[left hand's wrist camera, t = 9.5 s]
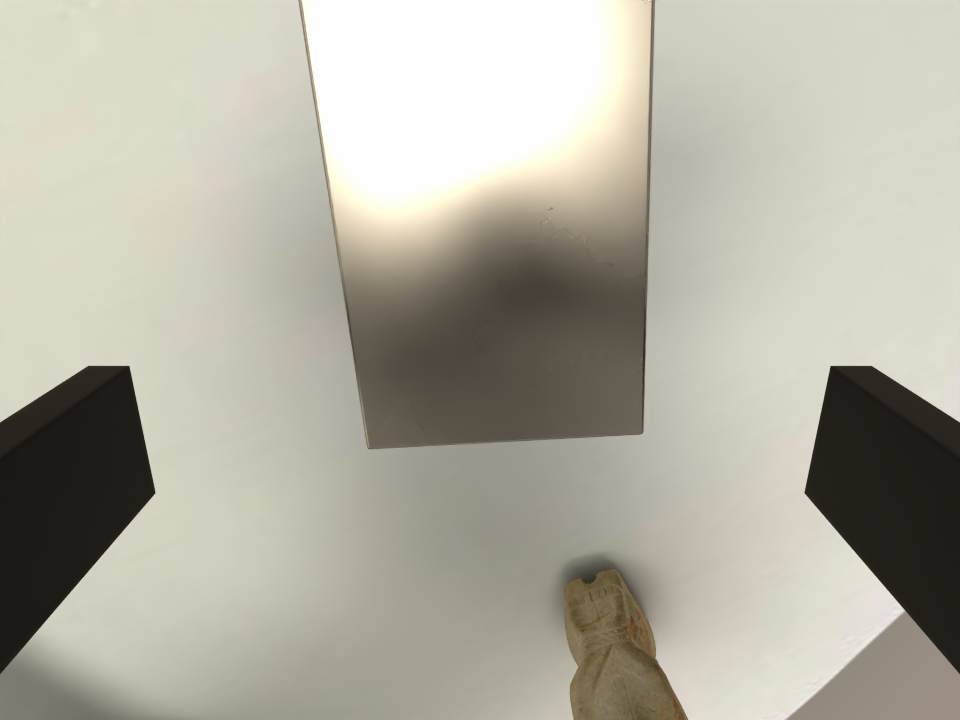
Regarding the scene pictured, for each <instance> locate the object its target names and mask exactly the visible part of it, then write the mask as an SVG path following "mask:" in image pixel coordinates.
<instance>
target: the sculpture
mask: <svg viewBox="0 0 960 720" xmlns="http://www.w3.org/2000/svg"><path fill="white" fill-rule="evenodd" d="M564 591H565V597H566V609H565V626H566V634H567V640H568V644H569V648H570V651H571V653H572V655H573V658H574V660H575V662H576V663H577V665H578V666H579V667H578V669H577V671H576V673H575V675H574V677H573V679H572V682H571V685H570V700H571V706H572V712H573V718H574V720H688V718H687V716H686V714H685V712H684V710H683V708H682V706H681V704H680V702H679V700H678V698H677V697H676V695H675V693H674V691H673V689H672V687H671V685H670V683H669V681H668V679H667V677H666V675H665V673H664V672H663V670H662V669H661V667H660V665H659V664H658V662H657V660H656V659H655V658H656V647H655V641H654V637H653V633H652V630H651V627H650V625H649V622H648V620H647V619H646V617H645V615H644V614H643V612H642V610H641V609H640V607H639V606H638V604H637V603H636V601H635V600H634V598H633V597H632V595H631V593H630V592H629V590H628V588H627V586H626V585H625V583H624V581H623V580H622V578H621V576H620V574H619V572H618V571H617V570H616V569H610V570H605V571H601V572H599V573H597V575H596V579H595V580H594V582H592V583H591V584H586V583H585V581H584V580H583V579H581V578H579V579H576V580H573V581H570V582H568V583H566V584H565V585H564Z"/></svg>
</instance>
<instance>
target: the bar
mask: <svg viewBox="0 0 960 720" xmlns="http://www.w3.org/2000/svg"><path fill="white" fill-rule="evenodd" d="M298 1H299V8H300V14H301V21H302V27H303V34H304V40H305V47H306V53H307V60H308V66H309V73H310V79H311V86H312V92H313V99H314V105H315V112H316V118H317V125H318V131H319V138H320V144H321V151H322V157H323V164H324V170H325V177H326V183H327V190H328V196H329V203H330V209H331V216H332V222H333V229H334V235H335V242H336V248H337V255H338V261H339V268H340V274H341V281H342V287H343V294H344V300H345V307H346V313H347V320H348V326H349V333H350V339H351V346H352V352H353V359H354V365H355V372H356V378H357V385H358V391H359V398H360V404H361V411H362V417H363V424H364V430H365V437H366V443H367V447H368V449H383V448H401V447H420V446H438V445H456V444H474V443H492V442H511V441H529V440H547V439H565V438H583V437H602V436H620V435H638V434H642V433H643V431H644V396H645V358H646V320H647V283H648V245H649V207H650V169H651V132H652V94H653V56H654V18H655V0H298Z"/></svg>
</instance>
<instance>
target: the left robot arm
mask: <svg viewBox="0 0 960 720" xmlns="http://www.w3.org/2000/svg"><path fill="white" fill-rule="evenodd" d="M154 494H155V488H154V483H153V478H152V474H151V469H150V464H149V459H148V454H147V449H146V445H145V440H144V435H143V430H142V425H141V420H140V415H139V411H138V406H137V401H136V396H135V391H134V386H133V382H132V377H131V372H130V367H129V366H88V367H86V368H84V369H83V370H81V371H80V372H78V373H77V374H75V375H74V376H72V377H70V378H69V379H67V380H66V381H64V382H63V383H61V384H60V385H58V386H56V387H55V388H53V389H52V390H50V391H49V392H47V393H45V394H44V395H42V396H41V397H39V398H38V399H36V400H35V401H33V402H31V403H30V404H28V405H27V406H25V407H24V408H22V409H21V410H19V411H17V412H16V413H14V414H13V415H11V416H10V417H8V418H6V419H5V420H3V421H2V422H0V674H1V672H2V671H3V670H4V669H5V668H6V667H7V665H8V664H9V663H10V662H11V661H12V660H13V658H14V657H15V656H16V655H17V654H18V653H19V651H20V650H21V649H22V648H23V647H24V646H25V644H26V643H27V642H28V641H29V640H30V639H31V637H32V636H33V635H34V634H35V633H36V632H37V631H38V629H39V628H40V627H41V626H42V625H43V624H44V622H45V621H46V620H47V619H48V618H49V617H50V615H51V614H52V613H53V612H54V611H55V610H56V608H57V607H58V606H59V605H60V604H61V603H62V601H63V600H64V599H65V598H66V597H67V596H68V594H69V593H70V592H71V591H72V590H73V589H74V587H75V586H76V585H77V584H78V583H79V582H80V580H81V579H82V578H83V577H84V576H85V575H86V573H87V572H88V571H89V570H90V569H91V568H92V566H93V565H94V564H95V563H96V562H97V561H98V559H99V558H100V557H101V556H102V555H103V554H104V552H105V551H106V550H107V549H108V548H109V547H110V545H111V544H112V543H113V542H114V541H115V540H116V538H117V537H118V536H119V535H120V534H121V533H122V531H123V530H124V529H125V528H126V527H127V526H128V525H129V523H130V522H131V521H132V520H133V519H134V518H135V516H136V515H137V514H138V513H139V512H140V511H141V509H142V508H143V507H144V506H145V505H146V504H147V502H148V501H149V500H150V499H151V498H152V497H153V495H154ZM805 494H806V495H807V497H808V498H809V499H810V500H811V501H812V502H813V504H814V505H815V506H816V507H817V508H818V509H819V511H820V512H821V513H822V514H823V515H824V516H825V518H826V519H827V520H828V521H829V522H830V523H831V525H832V526H833V527H834V528H835V529H836V530H837V531H838V533H839V534H840V535H841V536H842V537H843V538H844V540H845V541H846V542H847V543H848V544H849V545H850V547H851V548H852V549H853V550H854V551H855V552H856V554H857V555H858V556H859V557H860V558H861V559H862V561H863V562H864V563H865V564H866V565H867V566H868V568H869V569H870V570H871V571H872V572H873V573H874V575H875V576H876V577H877V578H878V579H879V580H880V582H881V583H882V584H883V585H884V586H885V587H886V589H887V590H888V591H889V592H890V593H891V594H892V596H893V597H894V598H895V599H896V600H897V601H898V603H899V604H900V605H901V606H902V607H903V608H904V610H905V611H906V612H907V613H908V614H909V615H910V617H911V618H912V619H913V620H914V621H915V622H916V623H917V625H918V626H919V627H920V628H921V629H922V631H923V632H924V633H925V634H926V635H927V636H928V637H929V639H930V640H931V641H932V642H933V643H934V644H935V646H936V647H937V648H938V649H939V650H940V651H941V653H942V654H943V655H944V656H945V657H946V658H947V660H948V661H949V662H950V663H951V664H952V665H953V667H954V668H955V669H956V670H957V671H958V672H959V674H960V422H958V421H957V420H955V419H954V418H952V417H950V416H949V415H947V414H946V413H944V412H943V411H941V410H939V409H938V408H936V407H935V406H933V405H932V404H930V403H929V402H927V401H925V400H924V399H922V398H921V397H919V396H918V395H916V394H915V393H913V392H911V391H910V390H908V389H907V388H905V387H904V386H902V385H900V384H899V383H897V382H896V381H894V380H893V379H891V378H890V377H888V376H886V375H885V374H883V373H882V372H880V371H879V370H877V369H876V368H874V367H872V366H831V367H830V372H829V377H828V382H827V386H826V391H825V396H824V401H823V406H822V411H821V415H820V420H819V425H818V430H817V435H816V440H815V445H814V449H813V454H812V459H811V464H810V469H809V474H808V478H807V483H806V488H805Z"/></svg>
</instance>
